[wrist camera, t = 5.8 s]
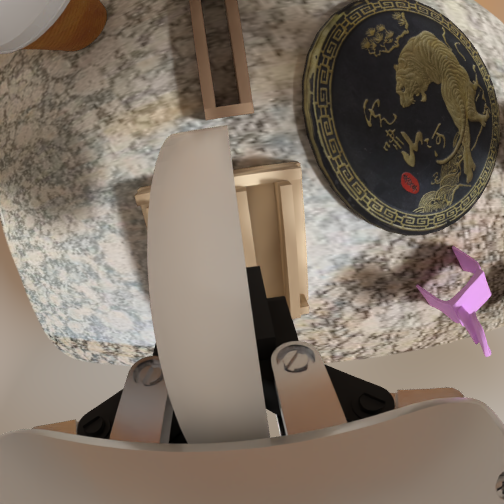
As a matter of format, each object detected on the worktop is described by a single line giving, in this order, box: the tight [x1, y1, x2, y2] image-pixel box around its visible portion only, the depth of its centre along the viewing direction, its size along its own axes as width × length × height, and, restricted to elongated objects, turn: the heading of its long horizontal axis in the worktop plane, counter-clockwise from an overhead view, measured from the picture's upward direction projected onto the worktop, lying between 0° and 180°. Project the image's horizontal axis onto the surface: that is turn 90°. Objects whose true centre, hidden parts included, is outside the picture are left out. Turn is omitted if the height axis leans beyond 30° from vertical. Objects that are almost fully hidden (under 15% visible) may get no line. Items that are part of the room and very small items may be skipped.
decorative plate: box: [302, 0, 500, 235], centre depth 25 cm, size 30×2×30 cm
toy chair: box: [416, 246, 491, 357], centre depth 29 cm, size 8×9×15 cm
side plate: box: [147, 125, 270, 444], centre depth 10 cm, size 2×12×12 cm
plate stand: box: [189, 0, 254, 120], centre depth 21 cm, size 4×15×2 cm, turn 7°
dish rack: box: [135, 162, 309, 319], centre depth 29 cm, size 16×16×5 cm
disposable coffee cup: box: [0, 0, 107, 54], centre depth 13 cm, size 10×10×12 cm
